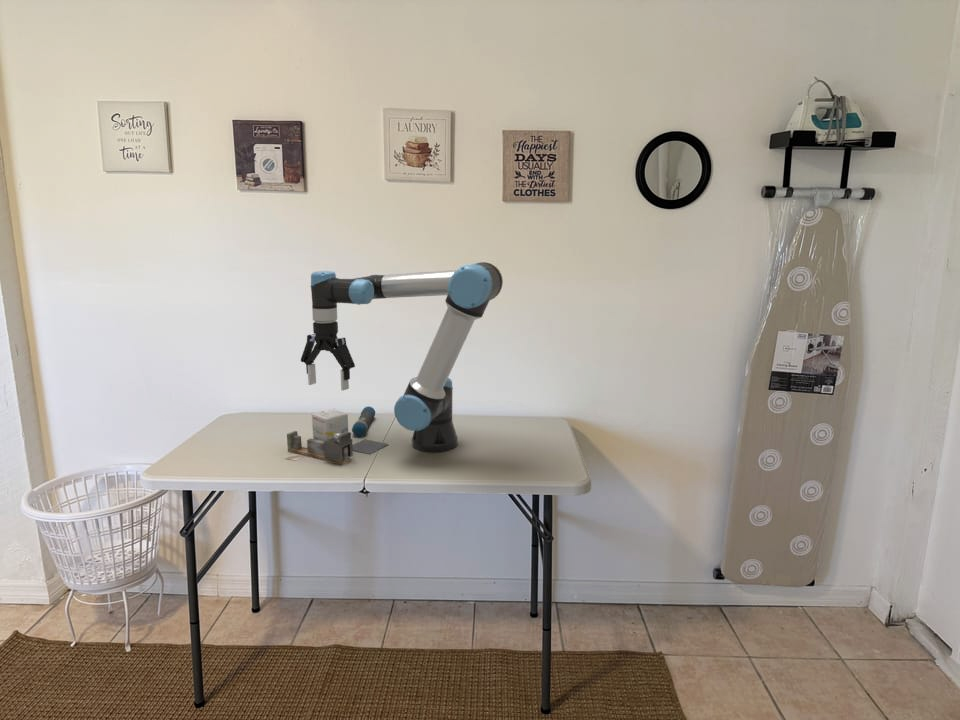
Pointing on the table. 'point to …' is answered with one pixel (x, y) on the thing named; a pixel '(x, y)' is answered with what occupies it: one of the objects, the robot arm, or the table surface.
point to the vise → (310, 449)
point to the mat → (368, 446)
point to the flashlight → (363, 421)
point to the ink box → (329, 424)
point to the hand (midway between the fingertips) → (328, 386)
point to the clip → (338, 446)
